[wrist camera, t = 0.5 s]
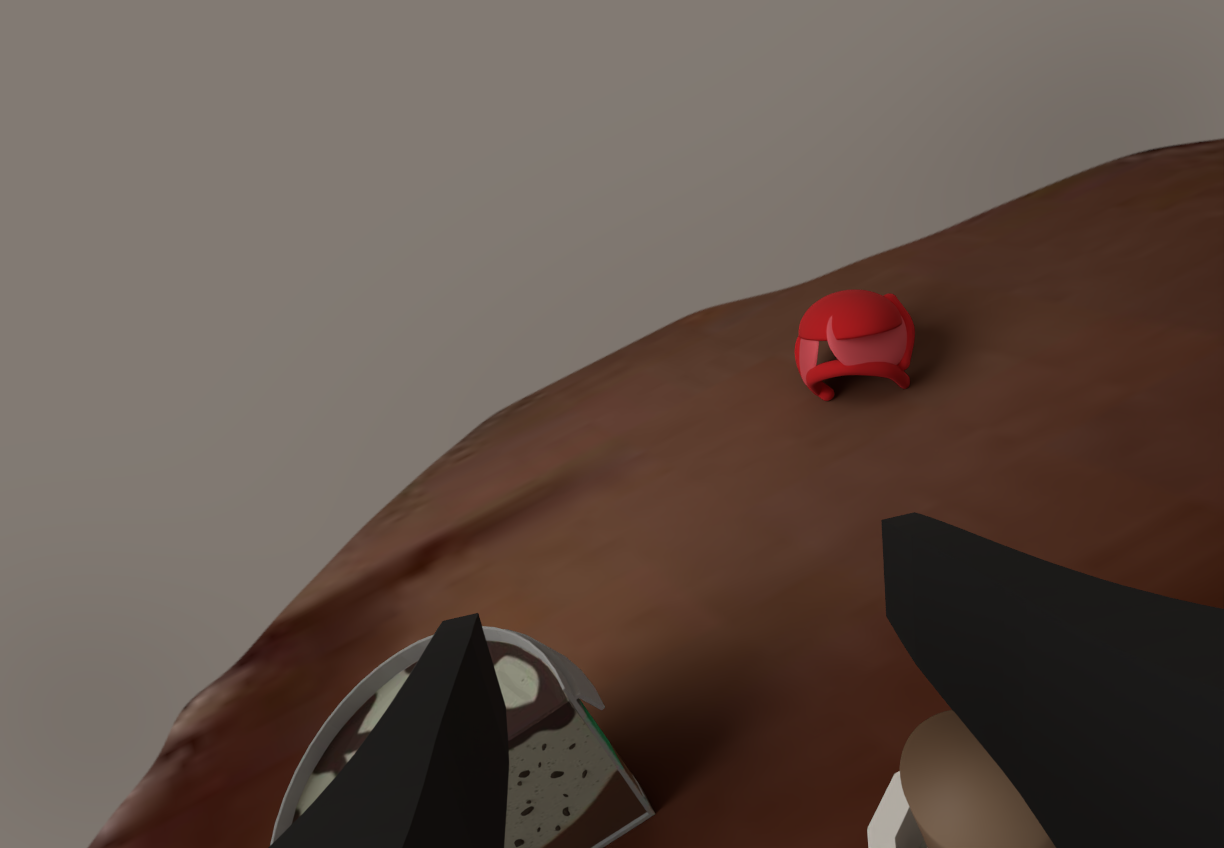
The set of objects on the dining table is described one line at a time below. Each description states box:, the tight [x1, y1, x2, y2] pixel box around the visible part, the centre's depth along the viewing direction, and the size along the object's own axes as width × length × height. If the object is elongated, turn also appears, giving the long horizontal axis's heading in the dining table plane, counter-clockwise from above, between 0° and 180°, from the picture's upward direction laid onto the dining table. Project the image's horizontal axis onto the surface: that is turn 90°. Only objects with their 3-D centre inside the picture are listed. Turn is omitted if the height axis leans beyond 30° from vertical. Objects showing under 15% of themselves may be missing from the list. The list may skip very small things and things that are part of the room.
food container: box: [270, 626, 655, 848], centre depth 29 cm, size 12×6×10 cm, turn 111°
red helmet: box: [795, 290, 915, 401], centre depth 40 cm, size 8×6×6 cm
